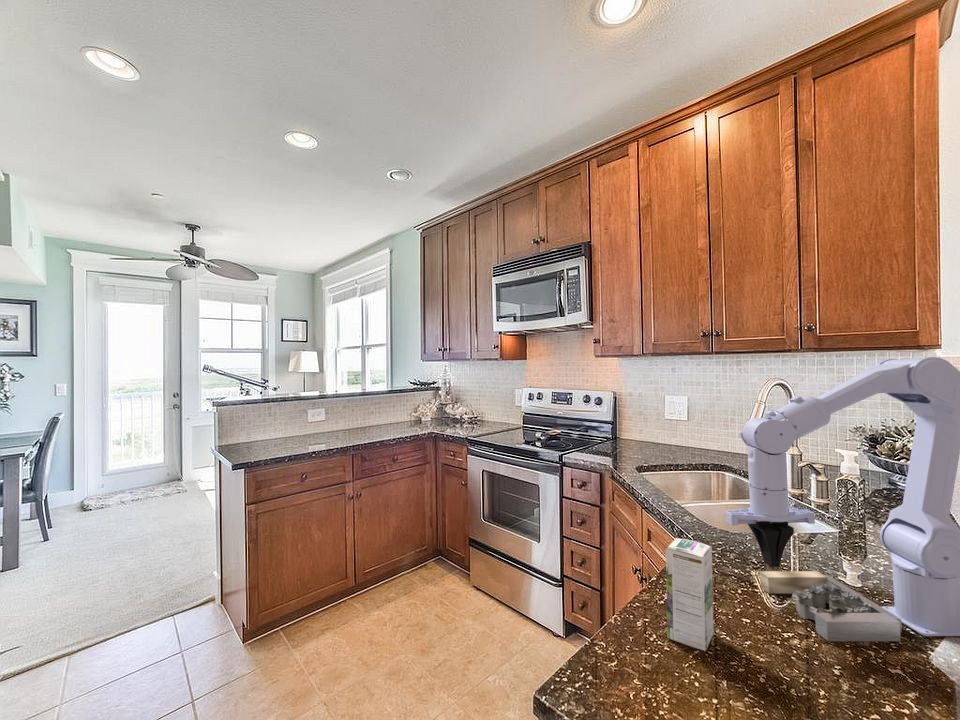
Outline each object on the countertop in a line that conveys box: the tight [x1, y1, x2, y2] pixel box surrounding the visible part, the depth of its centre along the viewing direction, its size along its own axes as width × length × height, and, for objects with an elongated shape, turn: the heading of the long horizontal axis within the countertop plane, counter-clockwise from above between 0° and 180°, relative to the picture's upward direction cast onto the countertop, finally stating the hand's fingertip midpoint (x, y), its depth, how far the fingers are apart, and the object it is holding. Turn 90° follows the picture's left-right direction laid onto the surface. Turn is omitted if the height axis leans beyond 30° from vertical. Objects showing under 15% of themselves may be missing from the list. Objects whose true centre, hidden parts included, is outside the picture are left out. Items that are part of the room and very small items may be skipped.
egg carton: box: [791, 582, 872, 621], centre depth 74 cm, size 11×8×4 cm
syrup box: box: [665, 537, 715, 652], centre depth 69 cm, size 6×6×14 cm
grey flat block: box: [814, 574, 903, 642], centre depth 76 cm, size 14×18×3 cm
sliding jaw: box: [759, 570, 828, 594], centre depth 82 cm, size 11×2×3 cm, turn 88°
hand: (771, 564), depth 75 cm, fingers closed
